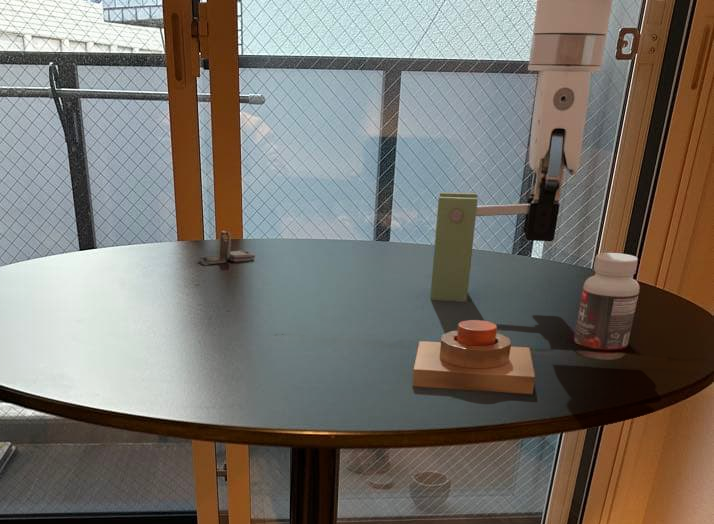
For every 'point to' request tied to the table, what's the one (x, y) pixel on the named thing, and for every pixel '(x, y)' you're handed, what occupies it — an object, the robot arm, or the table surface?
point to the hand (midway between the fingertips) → (538, 235)
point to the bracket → (453, 246)
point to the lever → (503, 209)
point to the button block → (474, 366)
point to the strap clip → (227, 253)
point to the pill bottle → (607, 306)
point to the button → (476, 333)
